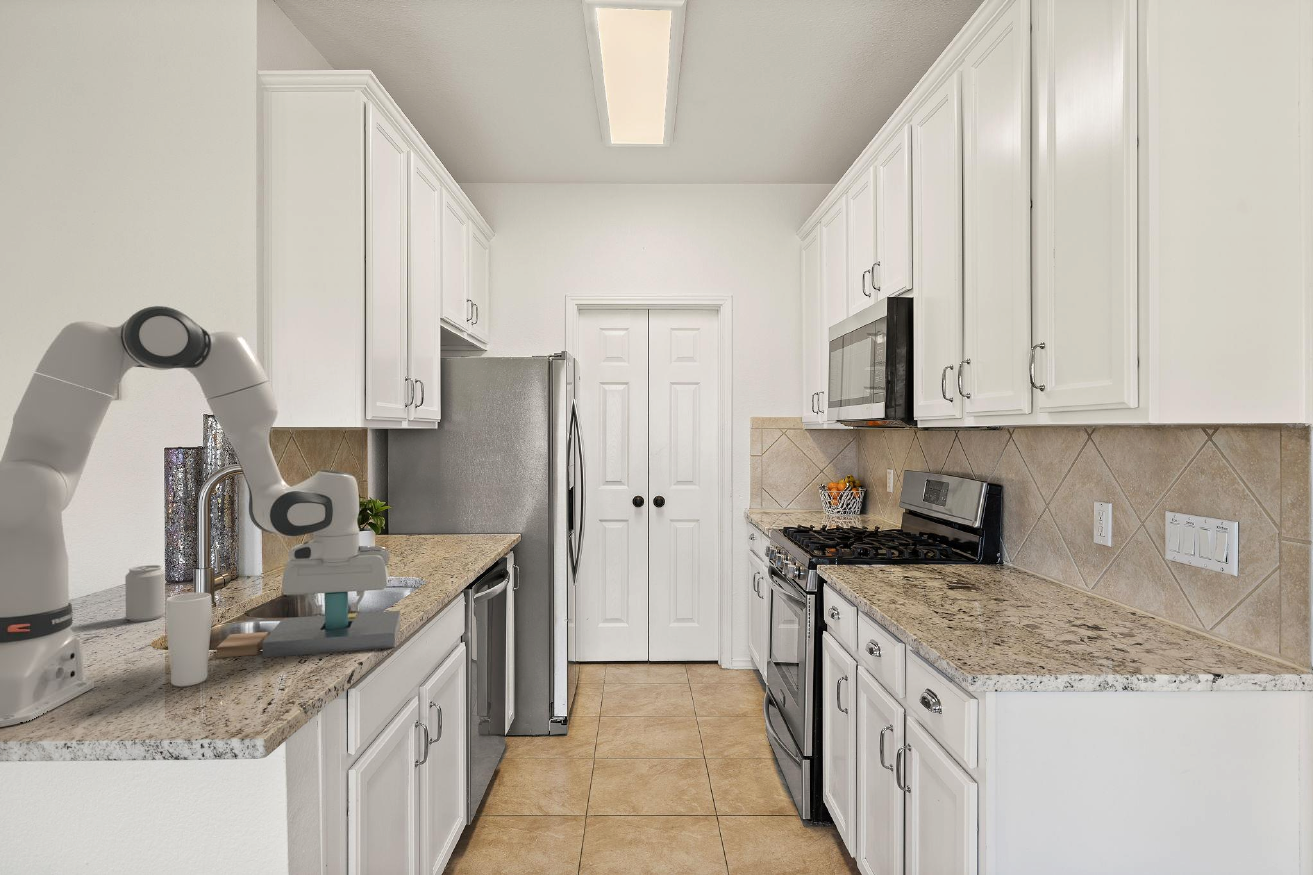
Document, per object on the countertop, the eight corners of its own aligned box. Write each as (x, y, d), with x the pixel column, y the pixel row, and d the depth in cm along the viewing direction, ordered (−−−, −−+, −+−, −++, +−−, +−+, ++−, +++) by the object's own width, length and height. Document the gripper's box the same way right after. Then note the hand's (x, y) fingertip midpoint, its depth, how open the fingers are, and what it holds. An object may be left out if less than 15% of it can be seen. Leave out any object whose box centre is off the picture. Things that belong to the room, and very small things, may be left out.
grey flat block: (394, 647, 144) (394, 631, 144) (262, 657, 137) (262, 640, 137) (400, 623, 161) (400, 609, 161) (283, 632, 155) (283, 616, 155)
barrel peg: (346, 641, 148) (346, 593, 148) (323, 643, 147) (323, 595, 147) (349, 635, 152) (349, 589, 152) (326, 637, 151) (326, 590, 151)
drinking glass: (159, 691, 120) (158, 602, 120) (174, 677, 127) (173, 593, 126) (205, 687, 122) (204, 599, 122) (217, 673, 129) (217, 591, 128)
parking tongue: (257, 654, 139) (257, 644, 139) (216, 657, 137) (216, 647, 137) (268, 641, 148) (268, 631, 148) (230, 644, 146) (230, 634, 146)
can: (144, 623, 161) (144, 570, 161) (117, 621, 163) (116, 569, 162) (173, 615, 168) (173, 564, 168) (146, 613, 170) (146, 563, 170)
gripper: (390, 542, 155) (390, 606, 155) (286, 546, 149) (286, 612, 150) (388, 547, 149) (388, 613, 149) (279, 551, 143) (280, 620, 143)
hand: (336, 612), depth 149 cm, fingers open, 6 cm apart
